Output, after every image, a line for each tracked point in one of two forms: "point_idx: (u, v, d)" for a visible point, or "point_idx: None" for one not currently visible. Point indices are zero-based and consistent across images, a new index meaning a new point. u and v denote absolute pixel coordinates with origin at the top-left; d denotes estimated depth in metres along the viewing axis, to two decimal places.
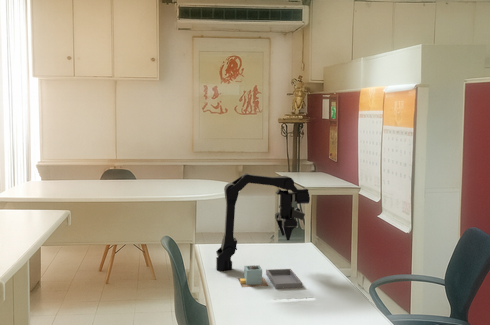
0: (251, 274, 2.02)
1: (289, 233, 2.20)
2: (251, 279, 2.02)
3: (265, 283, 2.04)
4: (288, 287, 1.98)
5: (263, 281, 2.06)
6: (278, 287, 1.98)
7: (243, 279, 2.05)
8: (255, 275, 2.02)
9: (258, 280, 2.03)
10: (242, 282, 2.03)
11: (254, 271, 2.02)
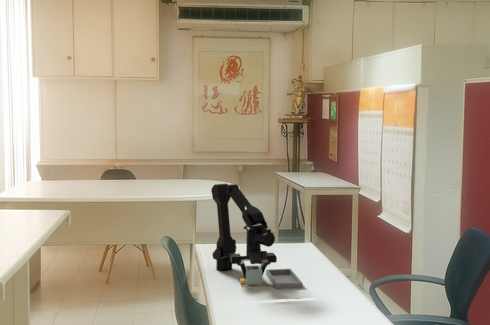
0: (251, 274, 2.02)
1: (242, 271, 2.04)
2: (251, 279, 2.02)
3: (265, 283, 2.04)
4: (288, 287, 1.98)
5: (263, 281, 2.06)
6: (278, 287, 1.98)
7: (243, 279, 2.05)
8: (255, 275, 2.02)
9: (258, 280, 2.03)
10: (242, 282, 2.03)
11: (254, 271, 2.02)
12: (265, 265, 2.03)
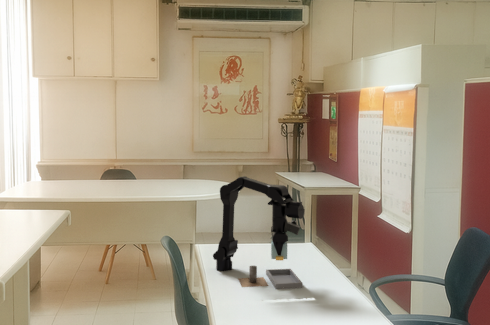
0: None
1: (280, 248, 2.01)
2: None
3: (265, 283, 2.04)
4: (288, 287, 1.98)
5: (263, 281, 2.06)
6: (278, 287, 1.98)
7: (279, 256, 2.02)
8: None
9: None
10: (283, 258, 2.01)
11: (286, 244, 2.06)
12: None
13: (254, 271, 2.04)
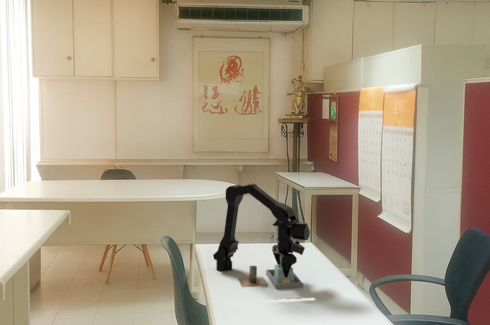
0: None
1: (287, 270, 2.01)
2: None
3: (265, 283, 2.04)
4: (288, 287, 1.98)
5: (263, 281, 2.06)
6: (278, 287, 1.98)
7: (285, 280, 2.04)
8: None
9: None
10: None
11: None
12: None
13: (254, 271, 2.04)
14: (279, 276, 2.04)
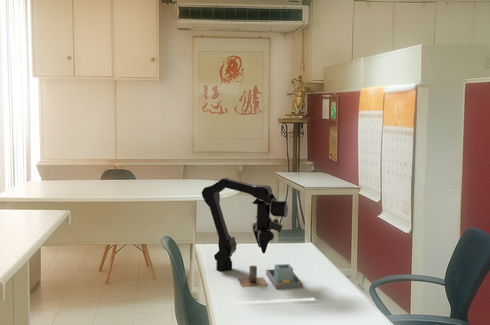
0: None
1: (265, 246, 2.10)
2: None
3: (265, 283, 2.04)
4: (288, 287, 1.98)
5: (263, 281, 2.06)
6: (278, 287, 1.98)
7: (285, 280, 2.04)
8: None
9: None
10: None
11: None
12: None
13: (254, 271, 2.04)
14: (279, 276, 2.04)
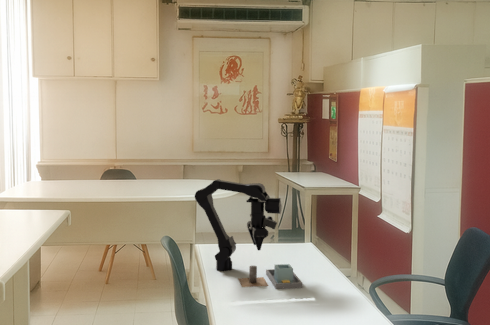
0: None
1: (260, 243, 2.12)
2: None
3: (265, 283, 2.04)
4: (288, 287, 1.98)
5: (263, 281, 2.06)
6: (278, 287, 1.98)
7: (285, 280, 2.04)
8: None
9: None
10: None
11: None
12: None
13: (254, 271, 2.04)
14: (279, 276, 2.04)
